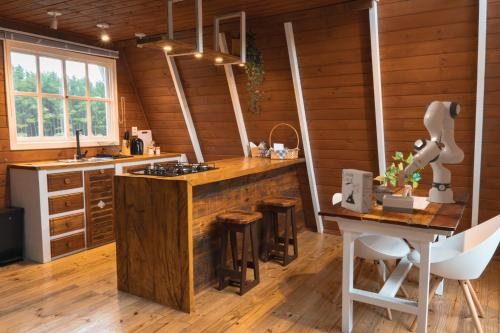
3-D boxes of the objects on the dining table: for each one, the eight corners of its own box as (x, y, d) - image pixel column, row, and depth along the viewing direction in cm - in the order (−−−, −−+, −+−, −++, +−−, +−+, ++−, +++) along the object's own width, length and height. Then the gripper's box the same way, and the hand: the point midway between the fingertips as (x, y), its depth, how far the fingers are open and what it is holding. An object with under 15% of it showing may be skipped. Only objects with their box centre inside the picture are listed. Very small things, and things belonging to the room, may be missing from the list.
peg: (397, 185, 254) (398, 169, 253) (404, 185, 253) (405, 170, 252) (397, 186, 250) (398, 170, 249) (404, 186, 249) (405, 170, 248)
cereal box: (341, 206, 262) (342, 169, 260) (350, 205, 265) (352, 168, 262) (361, 213, 242) (362, 173, 240) (371, 212, 245) (373, 172, 242)
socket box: (383, 206, 264) (384, 194, 263) (412, 209, 257) (413, 197, 256) (382, 210, 251) (382, 198, 250) (412, 213, 244) (413, 200, 243)
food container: (392, 204, 273) (393, 189, 272) (393, 205, 267) (393, 191, 266) (373, 202, 276) (374, 188, 275) (374, 204, 270) (374, 190, 269)
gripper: (414, 157, 257) (397, 171, 261) (414, 159, 238) (396, 174, 243) (421, 164, 255) (404, 178, 260) (422, 167, 237) (403, 182, 241)
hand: (400, 176), depth 251 cm, fingers closed on peg, 4 cm apart
